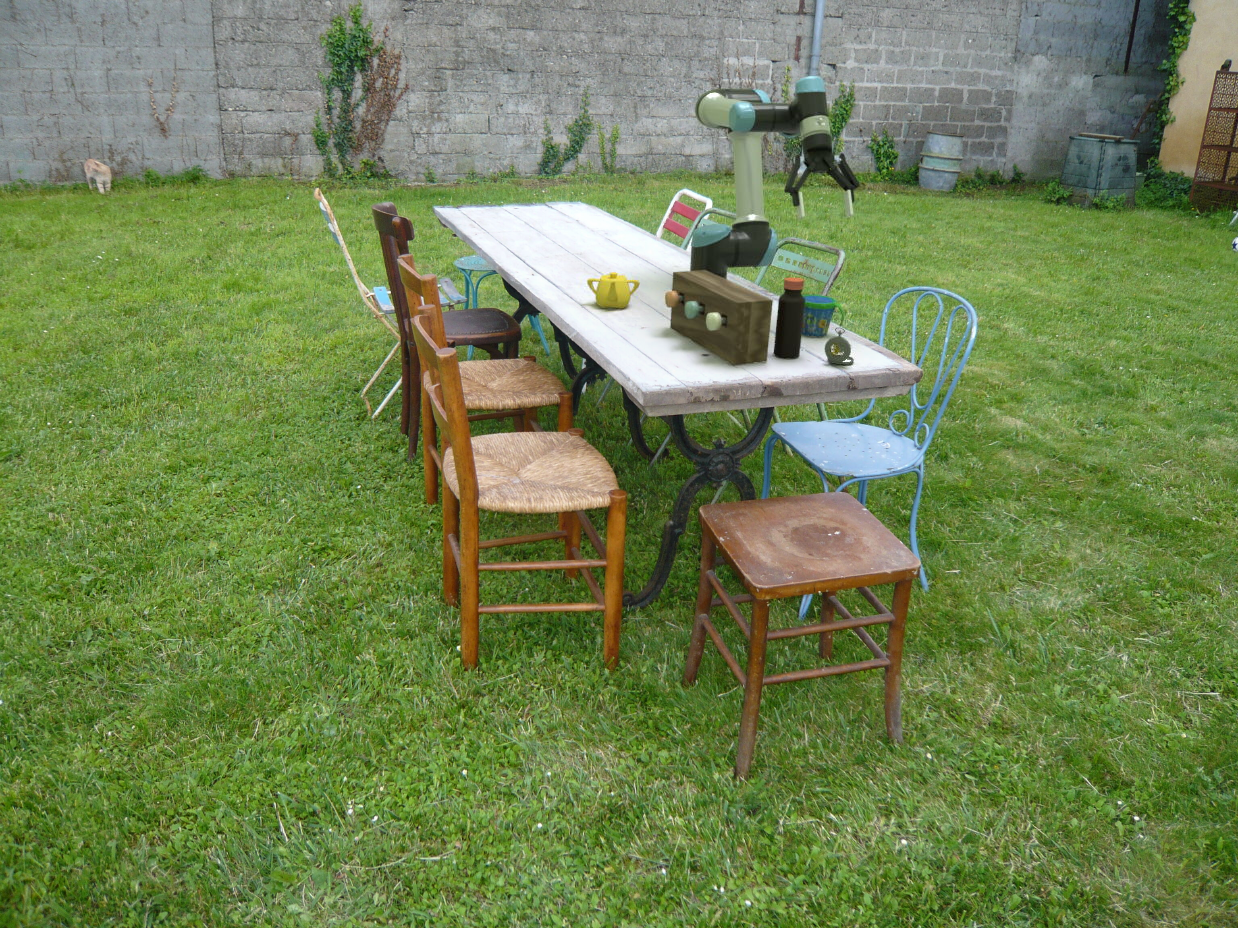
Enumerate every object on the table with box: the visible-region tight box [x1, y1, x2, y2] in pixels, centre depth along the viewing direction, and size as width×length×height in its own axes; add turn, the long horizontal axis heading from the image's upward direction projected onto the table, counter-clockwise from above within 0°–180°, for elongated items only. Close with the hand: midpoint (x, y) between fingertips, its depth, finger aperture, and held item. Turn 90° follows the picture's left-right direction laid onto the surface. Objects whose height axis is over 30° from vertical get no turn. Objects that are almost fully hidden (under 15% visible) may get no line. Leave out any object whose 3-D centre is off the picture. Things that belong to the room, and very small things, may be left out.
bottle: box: [773, 276, 805, 359], centre depth 237 cm, size 7×7×20 cm
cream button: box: [706, 312, 727, 331], centre depth 232 cm, size 6×4×4 cm
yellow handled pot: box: [586, 271, 640, 310], centre depth 281 cm, size 14×13×10 cm
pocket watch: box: [824, 326, 855, 365], centre depth 234 cm, size 8×8×10 cm
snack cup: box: [802, 294, 845, 338], centre depth 258 cm, size 16×10×10 cm
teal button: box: [685, 301, 705, 319], centre depth 242 cm, size 6×4×4 cm
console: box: [669, 270, 774, 366], centre depth 245 cm, size 10×36×16 cm, turn 23°
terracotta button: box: [664, 290, 684, 308], centre depth 252 cm, size 6×4×4 cm
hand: (825, 217), depth 239 cm, fingers open, 13 cm apart
